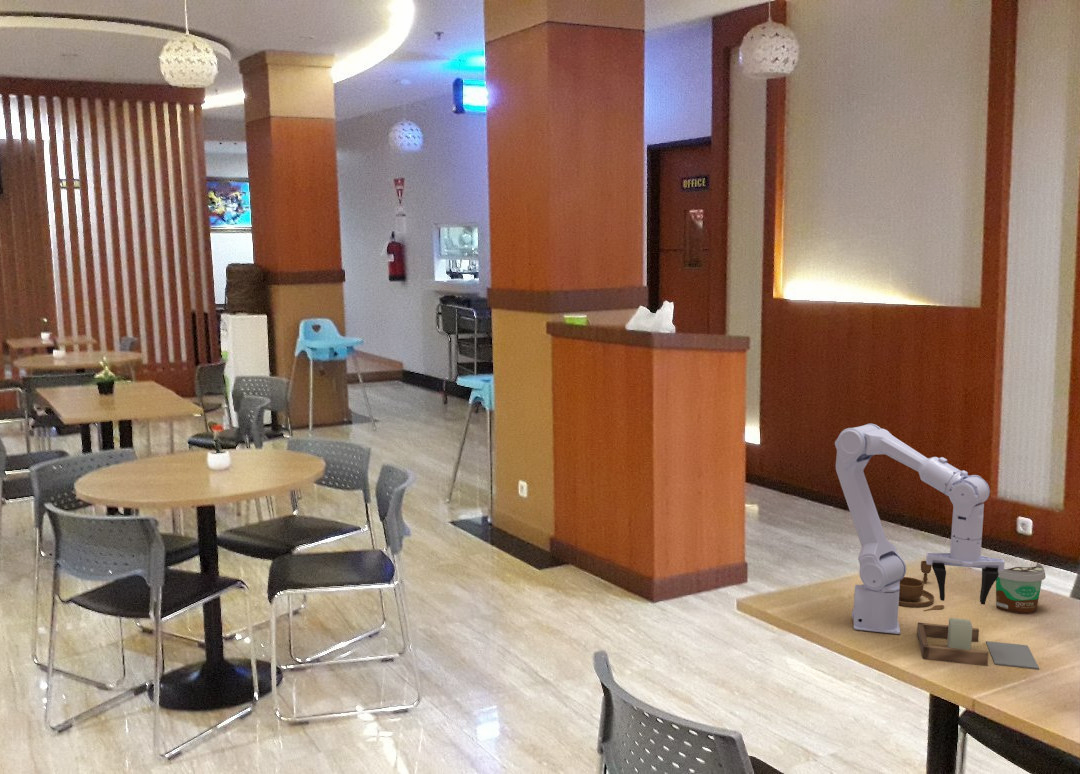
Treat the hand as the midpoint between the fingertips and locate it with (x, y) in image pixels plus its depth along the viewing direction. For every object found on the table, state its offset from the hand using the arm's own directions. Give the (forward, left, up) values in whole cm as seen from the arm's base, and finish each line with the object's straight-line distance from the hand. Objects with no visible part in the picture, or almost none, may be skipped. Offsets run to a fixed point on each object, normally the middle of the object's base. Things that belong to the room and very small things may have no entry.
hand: (962, 601), depth 209 cm
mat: (+10, 0, -10) cm, 14 cm away
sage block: (0, 0, -10) cm, 10 cm away
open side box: (-1, 0, -10) cm, 10 cm away
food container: (+17, +29, -11) cm, 35 cm away
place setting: (-5, +32, -11) cm, 35 cm away
